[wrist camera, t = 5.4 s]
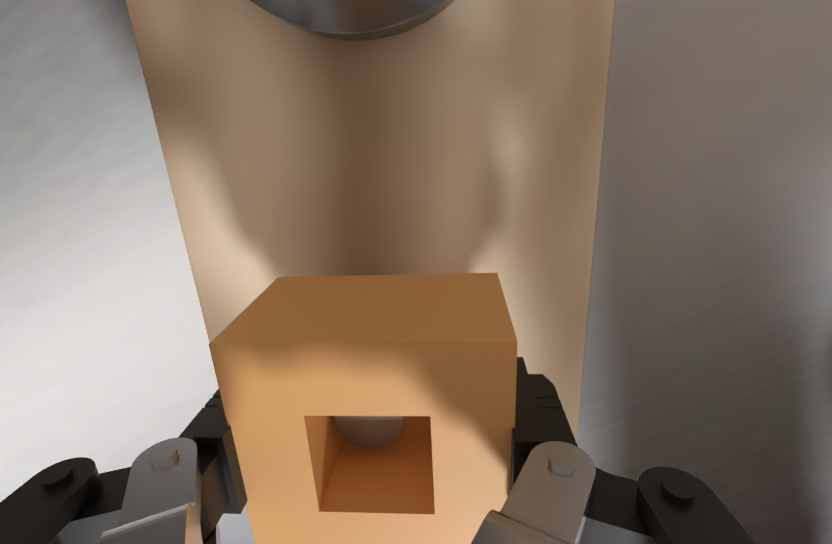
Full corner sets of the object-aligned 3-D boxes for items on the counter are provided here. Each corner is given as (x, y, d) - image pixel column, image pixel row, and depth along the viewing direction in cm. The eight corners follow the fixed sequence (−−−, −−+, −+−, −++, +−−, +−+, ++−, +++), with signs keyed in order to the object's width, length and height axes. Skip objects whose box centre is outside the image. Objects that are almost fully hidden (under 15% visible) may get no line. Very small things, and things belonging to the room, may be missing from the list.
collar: (497, 272, 13) (517, 341, 9) (494, 453, 15) (510, 570, 11) (277, 277, 13) (208, 344, 9) (306, 451, 15) (260, 562, 11)
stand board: (626, -457, 11) (915, -1357, 4) (562, 426, 20) (621, 585, 13) (80, -373, 12) (-380, -976, 5) (256, 427, 21) (169, 575, 14)
